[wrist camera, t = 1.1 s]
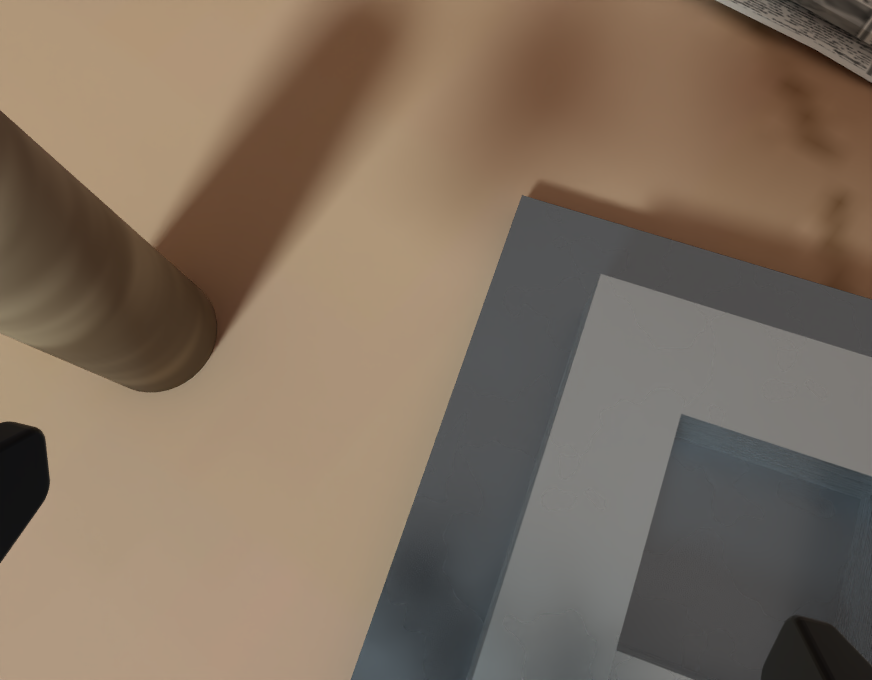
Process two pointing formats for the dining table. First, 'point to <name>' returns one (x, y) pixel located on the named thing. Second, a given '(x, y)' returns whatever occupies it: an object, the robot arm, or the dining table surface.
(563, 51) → the dining table surface
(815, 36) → the newspaper
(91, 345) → the peg
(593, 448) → the socket
